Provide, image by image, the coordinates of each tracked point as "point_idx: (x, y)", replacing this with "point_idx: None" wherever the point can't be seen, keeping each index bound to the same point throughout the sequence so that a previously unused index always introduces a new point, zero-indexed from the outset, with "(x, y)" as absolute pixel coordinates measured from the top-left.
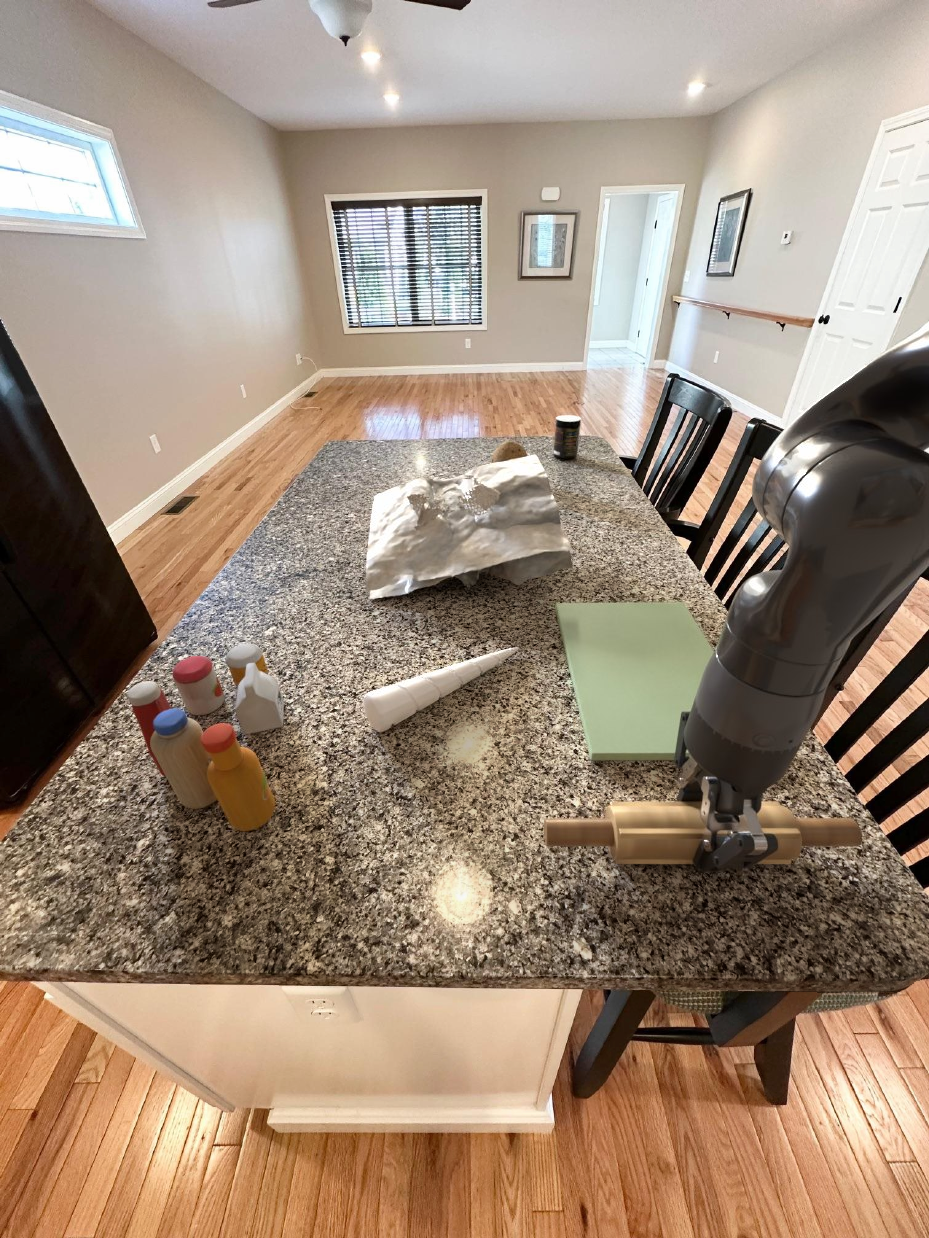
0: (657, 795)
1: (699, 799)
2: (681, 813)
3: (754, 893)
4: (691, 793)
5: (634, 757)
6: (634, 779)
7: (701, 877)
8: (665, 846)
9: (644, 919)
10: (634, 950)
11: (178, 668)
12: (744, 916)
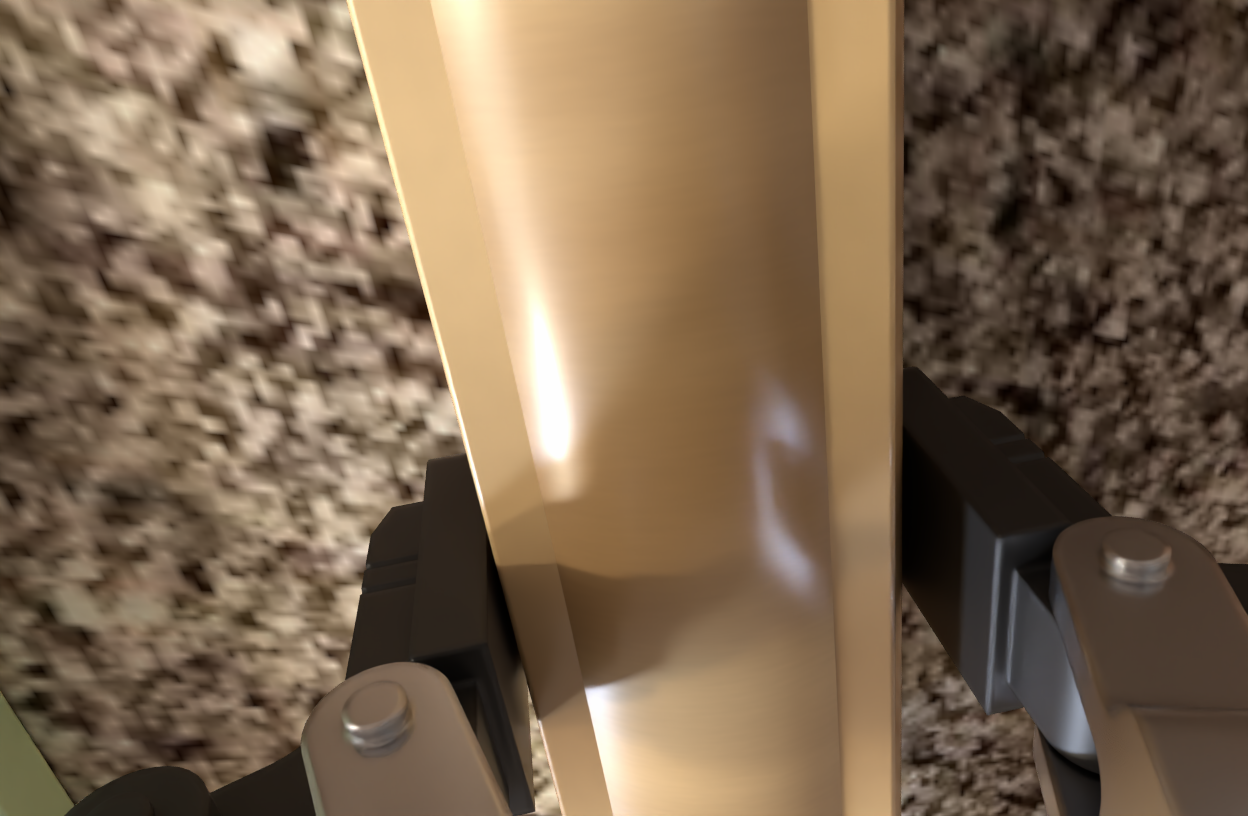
0: (296, 591)
1: (495, 616)
2: (718, 791)
3: (978, 82)
4: (517, 758)
5: (8, 750)
6: (204, 710)
7: None
8: (900, 777)
9: None
10: None
11: None
12: (1113, 191)
